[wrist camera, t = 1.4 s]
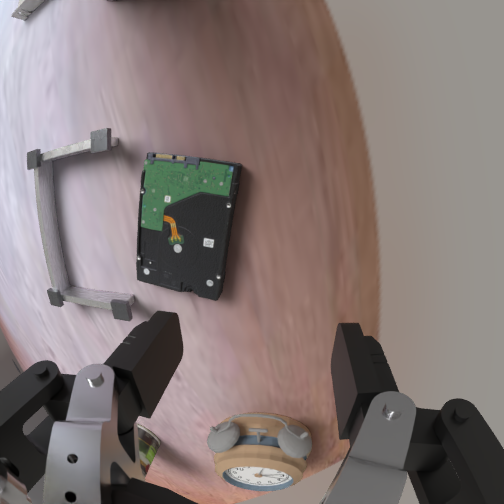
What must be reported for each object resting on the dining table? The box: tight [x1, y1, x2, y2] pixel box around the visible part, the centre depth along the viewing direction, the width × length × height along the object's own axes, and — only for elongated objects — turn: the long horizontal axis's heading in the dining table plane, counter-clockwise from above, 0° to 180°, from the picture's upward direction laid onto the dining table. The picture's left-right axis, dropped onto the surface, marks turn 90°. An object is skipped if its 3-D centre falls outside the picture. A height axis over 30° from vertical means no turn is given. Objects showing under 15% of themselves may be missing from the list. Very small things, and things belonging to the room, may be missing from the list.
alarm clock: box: [207, 413, 312, 491], centre depth 35 cm, size 17×9×23 cm
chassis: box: [27, 128, 135, 321], centre depth 30 cm, size 22×15×4 cm
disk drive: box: [136, 152, 242, 301], centre depth 29 cm, size 10×3×15 cm
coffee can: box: [137, 424, 160, 478], centre depth 39 cm, size 10×10×14 cm
